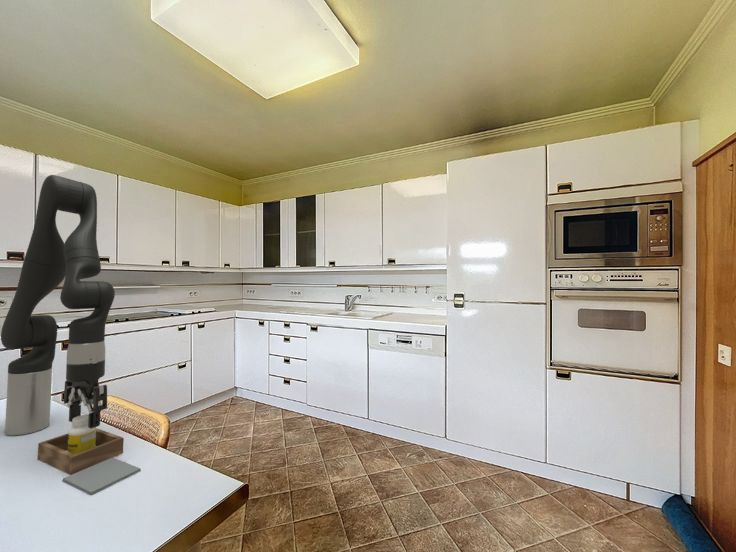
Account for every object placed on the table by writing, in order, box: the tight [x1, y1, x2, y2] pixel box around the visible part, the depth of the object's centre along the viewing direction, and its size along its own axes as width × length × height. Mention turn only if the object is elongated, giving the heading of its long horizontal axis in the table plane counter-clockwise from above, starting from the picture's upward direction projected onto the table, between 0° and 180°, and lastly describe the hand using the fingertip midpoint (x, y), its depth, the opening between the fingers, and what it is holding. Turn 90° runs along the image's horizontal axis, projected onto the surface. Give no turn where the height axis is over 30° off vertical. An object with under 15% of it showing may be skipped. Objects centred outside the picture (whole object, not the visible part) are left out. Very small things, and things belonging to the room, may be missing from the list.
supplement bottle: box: [67, 414, 97, 455], centre depth 84 cm, size 5×5×10 cm
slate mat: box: [62, 457, 141, 496], centre depth 76 cm, size 11×10×1 cm
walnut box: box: [36, 427, 125, 476], centre depth 84 cm, size 15×11×4 cm
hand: (84, 424), depth 84 cm, fingers open, 8 cm apart
